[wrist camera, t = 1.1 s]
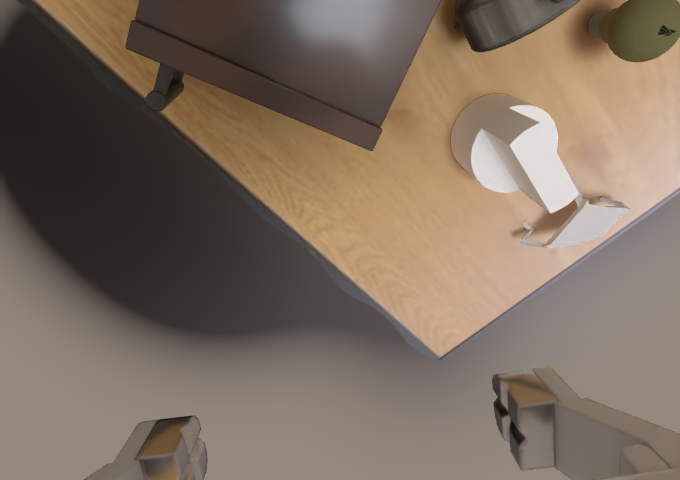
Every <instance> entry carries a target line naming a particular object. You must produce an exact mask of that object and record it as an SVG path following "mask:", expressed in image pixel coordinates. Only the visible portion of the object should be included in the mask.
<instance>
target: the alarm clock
mask: <svg viewBox="0 0 680 480" xmlns="http://www.w3.org/2000/svg"><path fill="white" fill-rule="evenodd" d="M579 1H580V0H457V2H456V5H455V10H454V13H455V17H456V19H457V21H458V23H457V24H456V25H455V29H456V30H459V29H462V31H463V33H464V35H465V37H466V39H467V41H468V43H469V45H470V47H471V49H472V50H473V51H476V52H486V51H490V50H493V49H497V48H500V47H502V46H505V45H507V44H510V43H512V42H514V41H516V40H518V39H520V38H522V37H524V36H526V35H528V34H530V33H532V32H534V31H536V30H538V29H539V28H541V27H543V26H545V25H546V24H548V23H549V22H551V21H553V20H554V19H556V18H557V17H559V16H560V15H562V14H563V13H564V12H566V11H567V10H569V9H570V8H571V7H573V6H574V5H575V4H577V3H578V2H579Z"/></svg>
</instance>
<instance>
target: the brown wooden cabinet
mask: <svg viewBox="0 0 680 480" xmlns="http://www.w3.org/2000/svg"><path fill="white" fill-rule="evenodd" d="M440 2H441V0H139V5H138V9H137V13H136V18H135V19H136V20H132V21H131V25H130V29H129V33H128V38H127V42H126V46H125V48H126V49H128V50H130V51H133V52H135V53H138V54H140V55H142V56H145V57H147V58H150V59H152V60H154V61H157V62H159V63H162V64H164V65H166V66H169V67H171V68H173V69H176V70H178V71H181V72H183V73H185V74H188V75H190V76H193V77H195V78H197V79H200V80H202V81H205V82H207V83H209V84H212V85H214V86H217V87H219V88H221V89H224V90H226V91H229V92H231V93H233V94H236V95H238V96H240V97H243V98H245V99H248V100H250V101H252V102H255V103H257V104H260V105H262V106H264V107H267V108H269V109H272V110H274V111H276V112H279V113H281V114H284V115H286V116H288V117H291V118H293V119H296V120H298V121H300V122H303V123H305V124H307V125H310V126H312V127H315V128H317V129H319V130H322V131H324V132H327V133H329V134H331V135H334V136H336V137H339V138H341V139H343V140H346V141H348V142H351V143H353V144H355V145H358V146H360V147H362V148H365V149H367V150H370V151H373V149H374V147H375V145H376V143H377V140H378V138H379V136H380V134H381V132H382V129H381V128H380V127H381V125H382V123H383V121H384V119H385V117H386V115H387V113H388V111H389V109H390V106H391V104H392V102H393V100H394V98H395V96H396V94H397V92H398V90H399V88H400V86H401V84H402V81H403V79H404V77H405V75H406V73H407V71H408V69H409V67H410V65H411V63H412V61H413V58H414V56H415V54H416V52H417V50H418V48H419V46H420V44H421V42H422V40H423V38H424V36H425V33H426V31H427V29H428V27H429V25H430V23H431V21H432V19H433V17H434V15H435V13H436V11H437V8H438V6H439V4H440ZM139 21H140V22H139ZM141 22H142V23H141ZM143 23H144V24H143ZM146 24H147V25H146ZM148 25H149V26H148ZM150 26H151V27H150ZM155 28H156V29H155ZM157 29H158V30H157ZM159 30H160V31H159ZM162 31H163V32H162ZM164 32H165V33H164ZM166 33H167V34H166ZM171 35H172V36H171ZM173 36H174V37H173ZM175 37H176V38H175ZM178 38H179V39H178ZM180 39H181V40H180ZM182 40H183V41H182ZM184 41H185V42H184ZM187 42H188V43H187ZM189 43H190V44H189ZM191 44H192V45H191ZM196 46H197V47H196ZM198 47H199V48H198ZM200 48H201V49H200ZM203 49H204V50H203ZM205 50H206V51H205ZM207 51H208V52H207ZM212 53H213V54H212ZM214 54H215V55H214ZM216 55H217V56H216ZM219 56H220V57H219ZM221 57H222V58H221ZM223 58H224V59H223ZM228 60H229V61H228ZM230 61H231V62H230ZM232 62H233V63H232ZM235 63H236V64H235ZM237 64H238V65H237ZM239 65H240V66H239ZM244 67H245V68H244ZM246 68H247V69H246ZM248 69H249V70H248ZM251 70H252V71H251ZM253 71H254V72H253ZM255 72H256V73H255ZM260 74H261V75H260ZM262 75H263V76H262ZM264 76H265V77H264ZM269 78H270V79H269ZM271 79H272V80H271ZM276 81H277V82H276ZM278 82H279V83H278ZM280 83H281V84H280ZM285 85H286V86H285ZM287 86H288V87H287ZM289 87H290V88H289ZM292 88H293V89H292ZM294 89H295V90H294ZM296 90H297V91H296ZM301 92H302V93H301ZM303 93H304V94H303ZM305 94H306V95H305ZM308 95H309V96H308ZM310 96H311V97H310ZM312 97H313V98H312ZM317 99H318V100H317ZM319 100H320V101H319ZM321 101H322V102H321ZM324 102H325V103H324ZM326 103H327V104H326ZM328 104H329V105H328ZM333 106H334V107H333ZM335 107H336V108H335ZM337 108H338V109H337ZM342 110H343V111H342ZM344 111H345V112H344ZM349 113H350V114H349ZM351 114H352V115H351ZM353 115H354V116H353ZM358 117H359V118H358ZM360 118H361V119H360ZM365 120H366V121H365ZM367 121H368V122H367ZM369 122H370V123H369ZM374 124H375V125H374ZM376 125H377V126H376Z"/></svg>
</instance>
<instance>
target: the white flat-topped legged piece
mask: <svg viewBox="0 0 680 480" xmlns="http://www.w3.org/2000/svg"><path fill="white" fill-rule="evenodd" d="M572 182H573V183H574V185H575V187H576V189H577V191H578V193H579V195H578V196H577V197H576V198H575V201H576V203H577V206H578V208H577V209H576V210H575V211H574V212H573V214H572V215H571V216H570V217H569V218H568V219H567V220H566V222H565V223H564V224H563V225H562V226H561V227H560V228H559V229H558V231H557V232H556V233H555V234H554V235H553V236H552V237H551V239H550V240H549V241H548V242H547V243H546V244H543V243H539V242H535V241H532V240H528V239H527V238H528V236H529V235H530V234H531V232H532V231H533V230H534V229H533V228H532V227H531V226H529V225H528V224H527V223H526V222H523V223H522V225H523V226H524V227H525V228H526V229H528V230H529V232H528V233H527V234H526V235H525V236H524V237H523V238H522V239H521V240H520V242H521V243H522V244H527V245H531V246H537V247H543V248H553V247H569V246H574V245H578V244H581V243H585V242H588V241H591V240H594V239H599V238H600V237H601V236H602V235H603V234H604V233H605V232H606V231H607V230H608V229H609V228H610V227H611V226H612V225H613V224H615V223H616V222H617V221H618V220H619V219H620V218H621V217H622V216H623V215H624V214H625V213H626V212H628V211H629V210H631V209H630V208H628V207H627V206H626V205H624V204H623V203H622V202H620V201H615V200H610V199H605V198H604V197H603V196H602V197H601V198H600V201H603V202H606V203H609V204H612V205H615V206H597V205H591V204H589V202H588V199H583V198H582V194H581V191H580V187H579V184H578V181H577V179H576V177H575V178H574V179H573V180H572Z"/></svg>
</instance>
